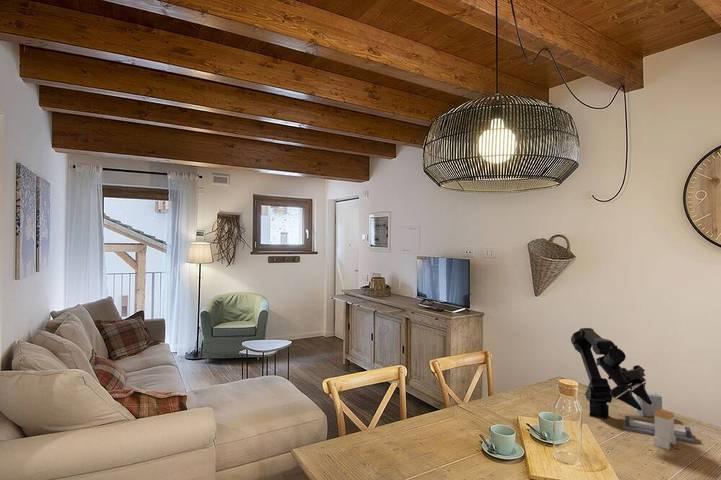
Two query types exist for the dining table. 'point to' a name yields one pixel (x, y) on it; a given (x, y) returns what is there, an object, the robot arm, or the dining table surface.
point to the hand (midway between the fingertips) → (646, 406)
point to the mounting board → (652, 432)
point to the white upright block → (664, 429)
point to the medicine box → (650, 409)
